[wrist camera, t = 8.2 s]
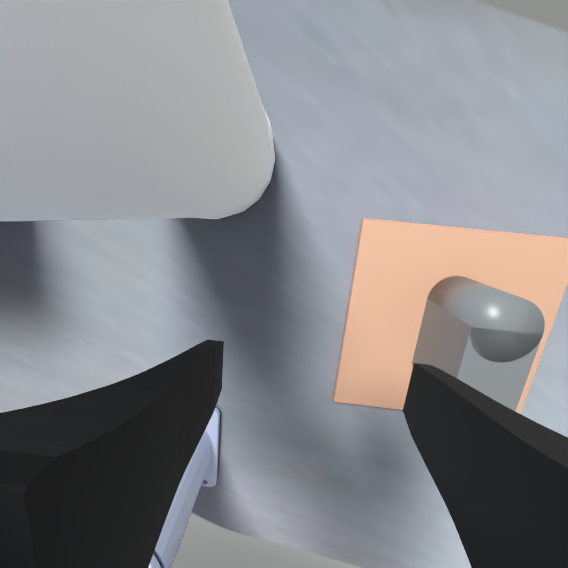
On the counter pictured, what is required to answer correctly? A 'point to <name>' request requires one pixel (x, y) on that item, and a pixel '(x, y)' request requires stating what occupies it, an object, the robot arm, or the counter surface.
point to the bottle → (128, 112)
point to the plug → (480, 337)
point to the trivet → (415, 289)
